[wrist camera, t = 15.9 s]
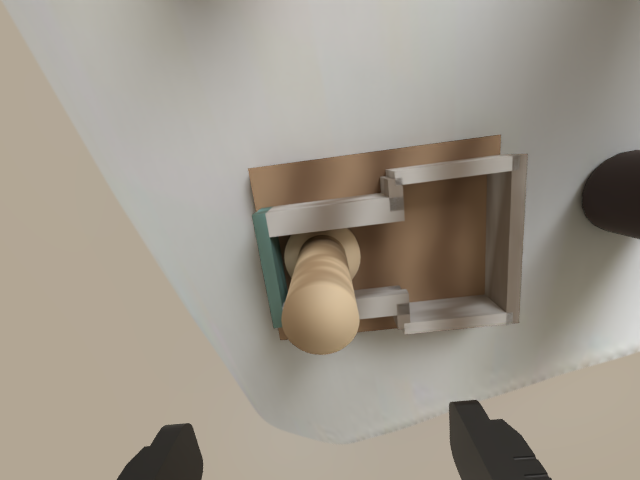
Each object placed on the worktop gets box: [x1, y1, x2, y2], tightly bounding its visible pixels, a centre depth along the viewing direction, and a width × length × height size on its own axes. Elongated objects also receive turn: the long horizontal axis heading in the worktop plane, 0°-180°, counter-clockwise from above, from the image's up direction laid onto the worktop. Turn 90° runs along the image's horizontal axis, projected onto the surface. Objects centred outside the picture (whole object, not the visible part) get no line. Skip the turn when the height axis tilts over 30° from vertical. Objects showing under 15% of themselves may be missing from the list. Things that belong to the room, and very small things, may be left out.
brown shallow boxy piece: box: [248, 135, 528, 340], centre depth 25 cm, size 20×16×5 cm
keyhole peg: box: [281, 228, 361, 355], centre depth 20 cm, size 6×6×11 cm
